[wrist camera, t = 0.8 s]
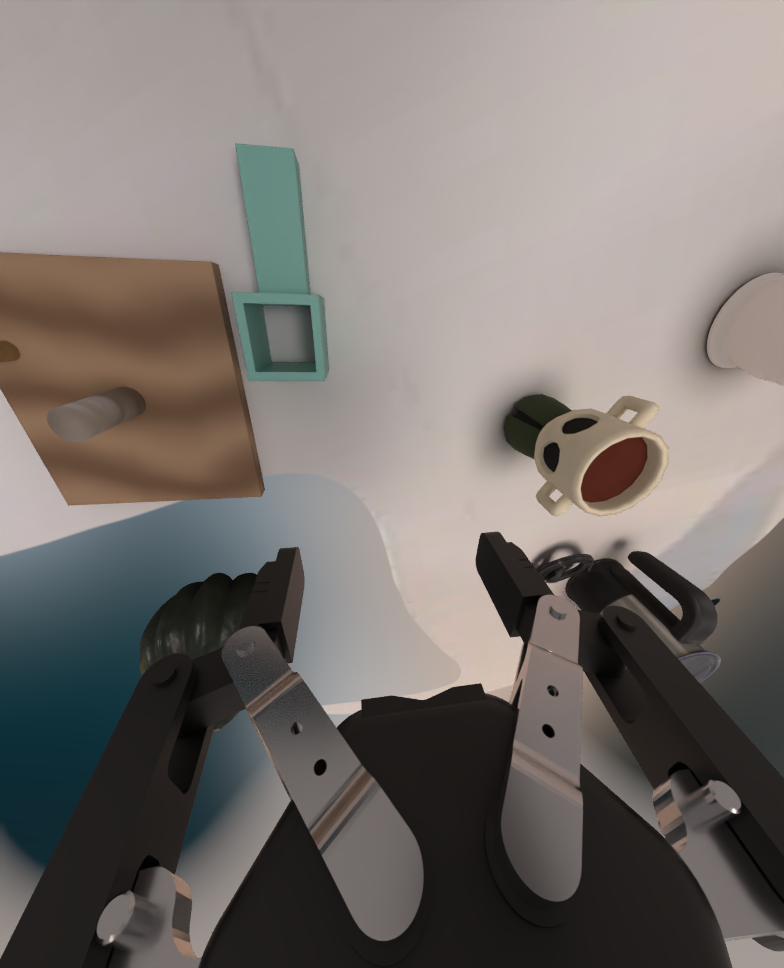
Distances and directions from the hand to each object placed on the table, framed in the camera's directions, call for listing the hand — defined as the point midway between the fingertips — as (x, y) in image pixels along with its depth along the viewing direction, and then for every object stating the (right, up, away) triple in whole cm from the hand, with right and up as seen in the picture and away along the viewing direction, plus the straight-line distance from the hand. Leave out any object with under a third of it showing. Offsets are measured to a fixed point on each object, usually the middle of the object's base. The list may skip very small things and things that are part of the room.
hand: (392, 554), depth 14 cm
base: (-23, +11, +14) cm, 29 cm away
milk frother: (+28, -10, +33) cm, 45 cm away
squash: (-20, -12, +27) cm, 36 cm away
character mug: (+15, +10, +20) cm, 27 cm away
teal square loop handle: (-8, +20, +11) cm, 24 cm away
